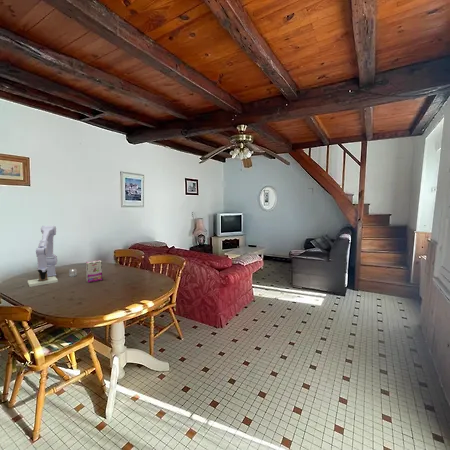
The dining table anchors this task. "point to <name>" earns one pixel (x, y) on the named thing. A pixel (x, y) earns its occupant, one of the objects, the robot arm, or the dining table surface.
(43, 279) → the walnut bar
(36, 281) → the socket plate
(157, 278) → the dining table surface
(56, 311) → the dining table surface
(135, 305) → the dining table surface
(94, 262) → the candy bar box
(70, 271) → the grey round peg
